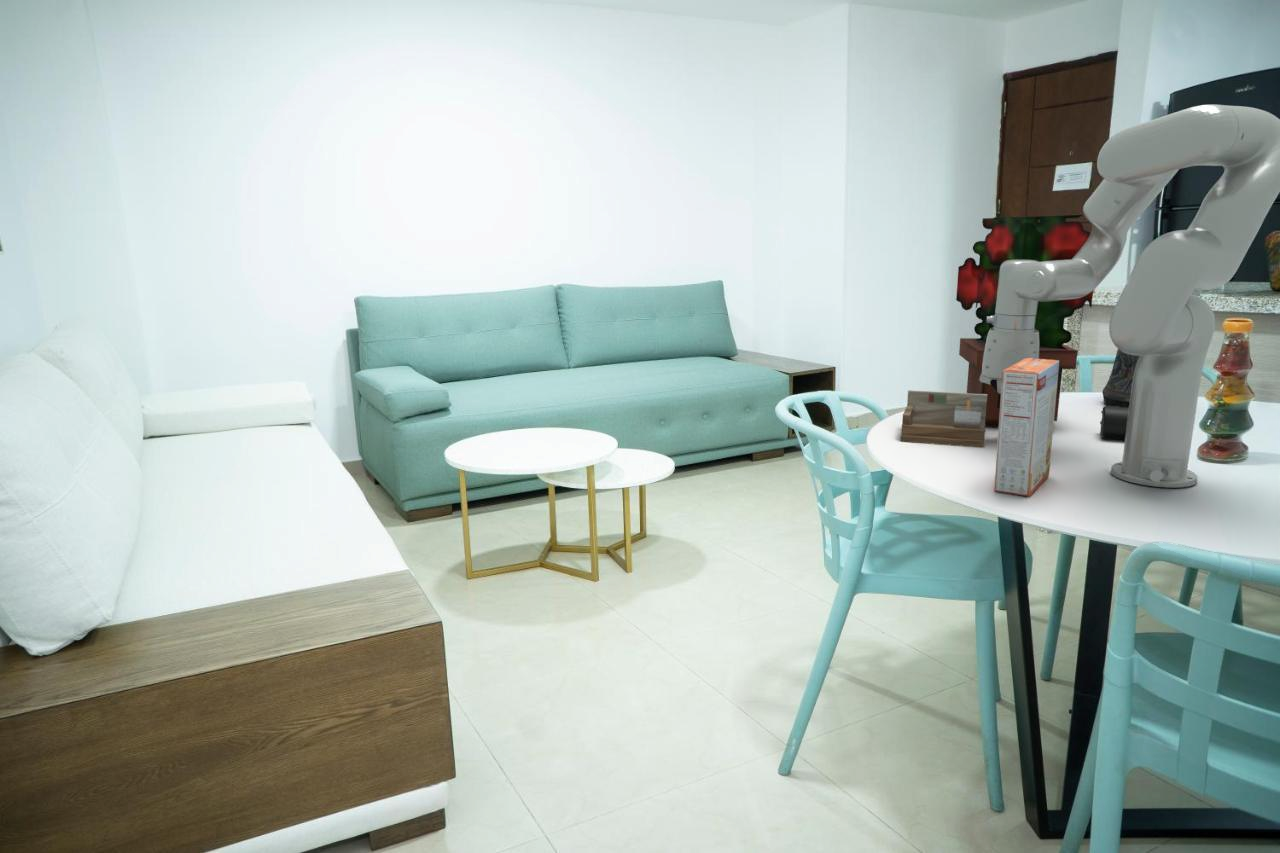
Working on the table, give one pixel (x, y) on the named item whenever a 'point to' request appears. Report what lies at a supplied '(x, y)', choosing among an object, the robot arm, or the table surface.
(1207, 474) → the table surface
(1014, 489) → the cracker box
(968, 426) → the white block with knob
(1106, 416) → the end cap
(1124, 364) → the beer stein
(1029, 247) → the potted plant
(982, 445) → the wooden toy tray
